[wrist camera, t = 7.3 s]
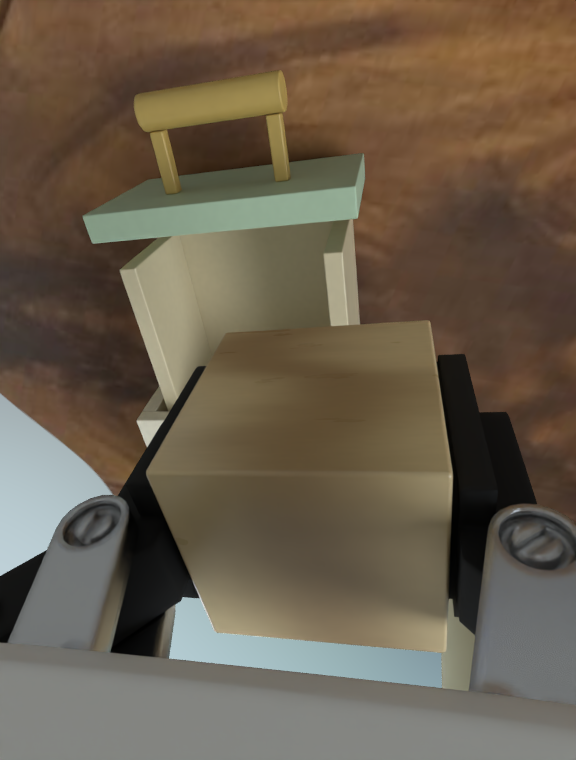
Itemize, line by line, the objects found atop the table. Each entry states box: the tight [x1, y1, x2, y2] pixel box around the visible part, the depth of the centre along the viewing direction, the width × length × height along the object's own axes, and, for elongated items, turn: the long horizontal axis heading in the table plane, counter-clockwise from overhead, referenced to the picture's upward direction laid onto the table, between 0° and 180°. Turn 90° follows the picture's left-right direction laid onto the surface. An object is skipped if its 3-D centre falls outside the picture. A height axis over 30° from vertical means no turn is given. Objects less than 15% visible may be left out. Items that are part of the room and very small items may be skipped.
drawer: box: [83, 70, 365, 411], centre depth 24 cm, size 17×11×7 cm, turn 8°
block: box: [146, 320, 453, 653], centre depth 10 cm, size 4×4×4 cm
